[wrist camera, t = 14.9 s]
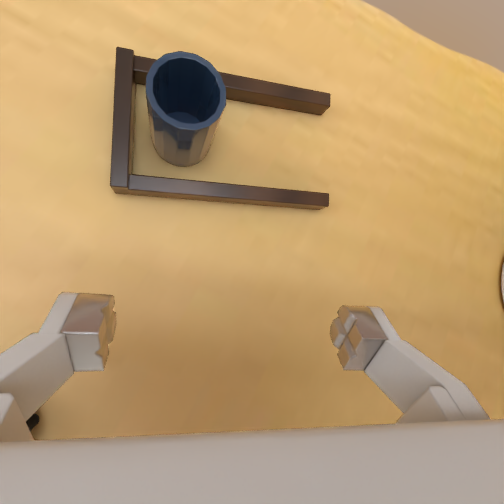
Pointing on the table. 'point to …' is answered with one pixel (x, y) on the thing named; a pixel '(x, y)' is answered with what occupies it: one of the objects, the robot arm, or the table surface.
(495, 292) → the table surface
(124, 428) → the table surface
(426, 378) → the robot arm
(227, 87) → the walnut slide track
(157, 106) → the pen cup
